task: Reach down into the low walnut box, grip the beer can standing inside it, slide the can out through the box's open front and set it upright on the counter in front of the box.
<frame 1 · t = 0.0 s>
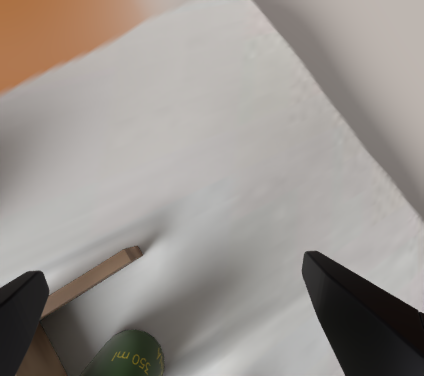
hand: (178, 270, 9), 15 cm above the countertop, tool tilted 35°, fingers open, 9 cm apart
open box: (128, 364, 22), on the countertop
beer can: (133, 359, 22), on the countertop
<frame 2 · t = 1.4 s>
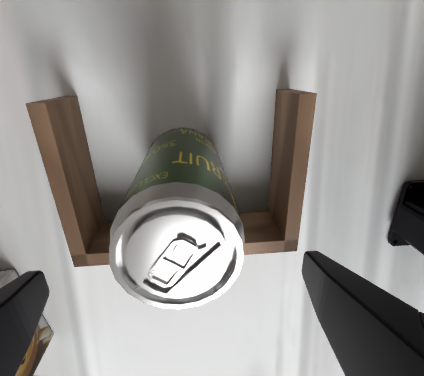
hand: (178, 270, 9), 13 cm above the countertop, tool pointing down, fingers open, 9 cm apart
open box: (184, 166, 21), on the countertop
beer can: (183, 159, 21), on the countertop
coffee box: (6, 308, 25), on the countertop
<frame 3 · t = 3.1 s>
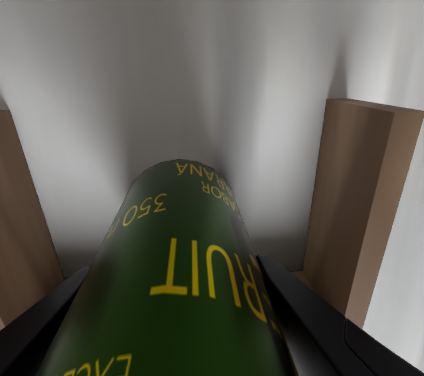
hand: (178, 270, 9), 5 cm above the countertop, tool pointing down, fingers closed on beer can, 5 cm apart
open box: (182, 213, 14), on the countertop
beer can: (182, 202, 14), on the countertop, touching gripper
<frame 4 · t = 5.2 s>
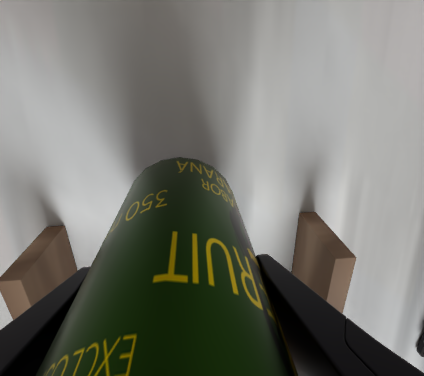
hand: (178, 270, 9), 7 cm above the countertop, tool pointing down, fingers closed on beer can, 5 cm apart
open box: (190, 289, 18), on the countertop
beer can: (182, 200, 14), point 1 cm above the countertop, touching gripper
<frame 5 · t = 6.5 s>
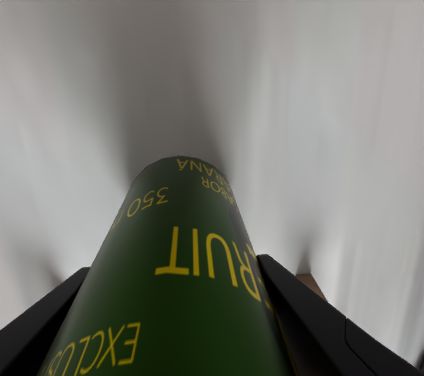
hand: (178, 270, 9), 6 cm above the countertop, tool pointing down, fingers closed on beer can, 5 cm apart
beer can: (182, 198, 14), on the countertop, touching gripper
when the fingers open (6 cm above the countertop, at t = 7.2 s): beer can stays where it is, on the countertop.
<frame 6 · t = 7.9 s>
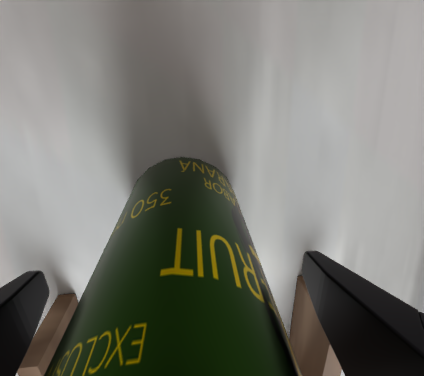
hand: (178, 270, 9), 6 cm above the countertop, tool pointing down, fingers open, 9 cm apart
open box: (194, 343, 19), on the countertop
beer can: (184, 199, 14), on the countertop
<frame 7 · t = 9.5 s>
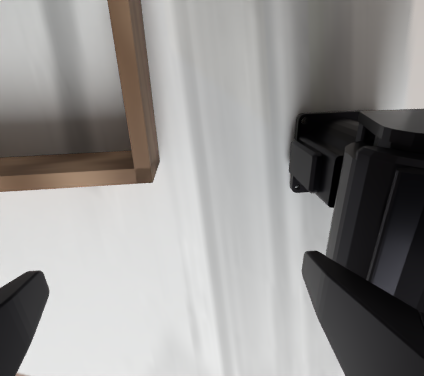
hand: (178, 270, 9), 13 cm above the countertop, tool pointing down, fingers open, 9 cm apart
open box: (33, 91, 18), on the countertop
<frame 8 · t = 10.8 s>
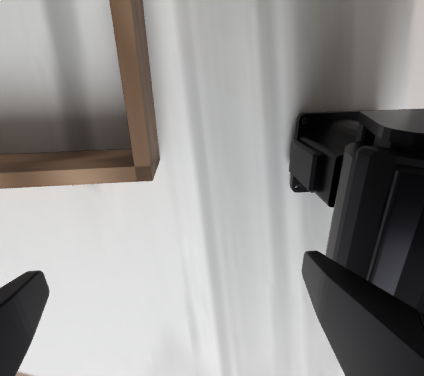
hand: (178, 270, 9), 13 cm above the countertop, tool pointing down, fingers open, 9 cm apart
open box: (34, 89, 18), on the countertop
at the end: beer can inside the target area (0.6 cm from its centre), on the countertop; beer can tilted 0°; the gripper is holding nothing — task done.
